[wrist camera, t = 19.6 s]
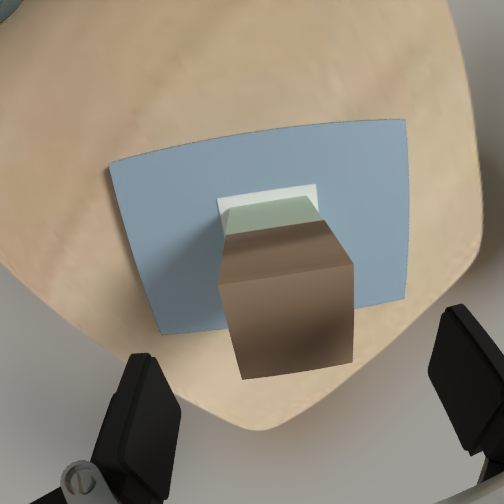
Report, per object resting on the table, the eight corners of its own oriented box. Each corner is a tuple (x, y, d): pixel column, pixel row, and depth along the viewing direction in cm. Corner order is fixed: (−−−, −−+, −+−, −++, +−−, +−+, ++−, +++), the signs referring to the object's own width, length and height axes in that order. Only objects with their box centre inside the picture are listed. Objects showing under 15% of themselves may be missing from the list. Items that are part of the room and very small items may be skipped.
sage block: (229, 207, 21) (225, 235, 16) (306, 195, 21) (323, 219, 16) (243, 275, 23) (243, 316, 18) (314, 264, 23) (329, 302, 18)
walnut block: (225, 234, 16) (217, 284, 12) (324, 219, 16) (353, 263, 11) (243, 316, 18) (242, 379, 14) (329, 302, 18) (352, 362, 13)
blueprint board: (113, 161, 20) (107, 164, 19) (399, 118, 19) (406, 119, 18) (163, 327, 26) (161, 335, 25) (399, 292, 25) (404, 299, 24)
